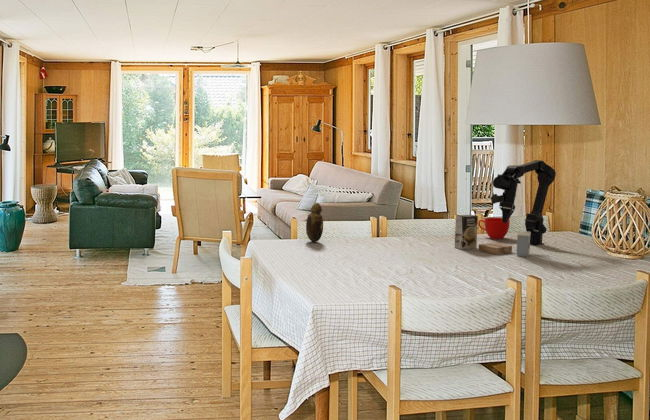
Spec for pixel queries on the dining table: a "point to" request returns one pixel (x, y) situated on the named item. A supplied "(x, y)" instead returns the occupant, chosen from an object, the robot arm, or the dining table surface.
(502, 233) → the ceramic cup
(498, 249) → the tan wooden flat block
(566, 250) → the dining table surface
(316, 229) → the sculpture
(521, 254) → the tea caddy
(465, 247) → the coffee box
